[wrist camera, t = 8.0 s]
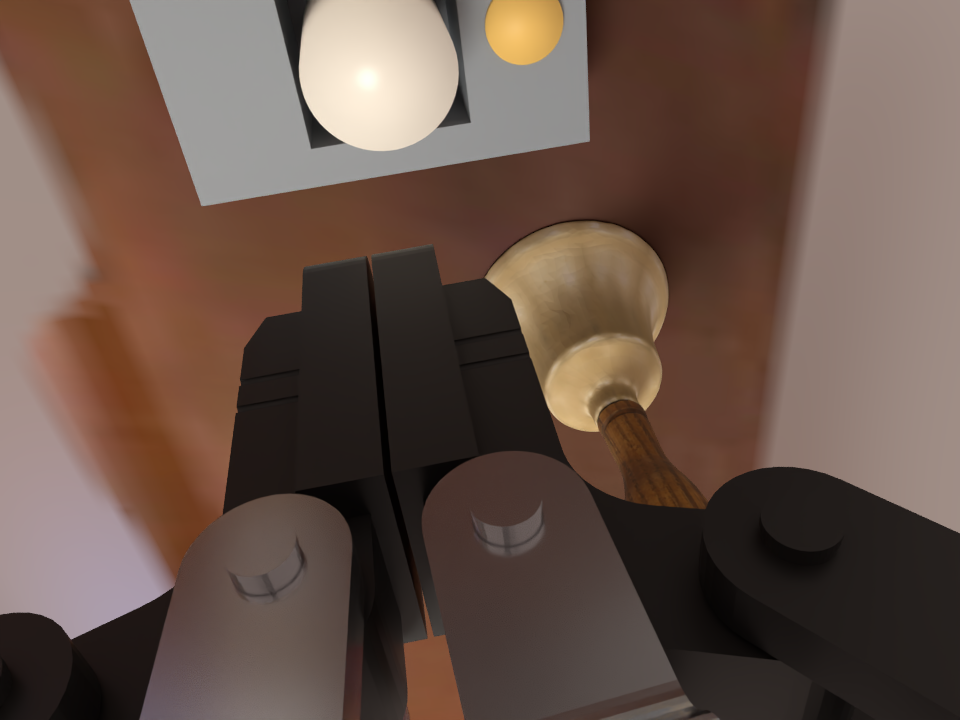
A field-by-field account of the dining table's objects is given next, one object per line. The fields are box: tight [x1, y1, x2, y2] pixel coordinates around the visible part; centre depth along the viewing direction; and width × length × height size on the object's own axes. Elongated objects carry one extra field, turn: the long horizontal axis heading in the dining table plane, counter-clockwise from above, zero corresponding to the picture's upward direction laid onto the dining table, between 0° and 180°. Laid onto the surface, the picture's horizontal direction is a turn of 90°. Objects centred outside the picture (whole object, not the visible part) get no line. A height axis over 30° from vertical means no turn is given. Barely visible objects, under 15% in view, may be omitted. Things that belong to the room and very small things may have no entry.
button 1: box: [299, 0, 459, 151], centre depth 22 cm, size 4×4×4 cm
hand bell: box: [484, 221, 708, 509], centre depth 28 cm, size 8×8×16 cm
